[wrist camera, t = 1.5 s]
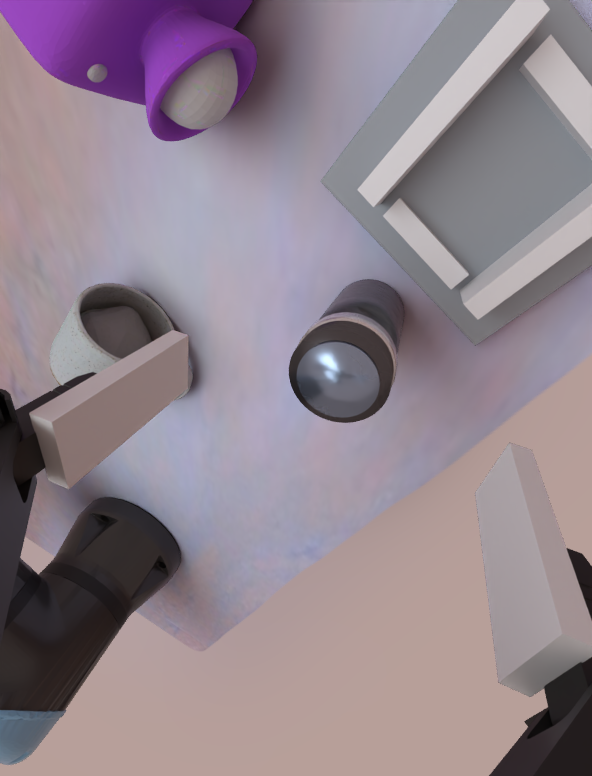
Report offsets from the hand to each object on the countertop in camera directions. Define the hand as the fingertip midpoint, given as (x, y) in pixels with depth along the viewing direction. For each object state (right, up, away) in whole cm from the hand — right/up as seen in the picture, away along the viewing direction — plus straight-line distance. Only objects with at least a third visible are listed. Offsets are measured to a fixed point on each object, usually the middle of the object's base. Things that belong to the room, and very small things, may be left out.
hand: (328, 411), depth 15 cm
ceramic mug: (-14, +5, +19) cm, 24 cm away
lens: (+4, +6, +11) cm, 13 cm away
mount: (+9, +12, +5) cm, 16 cm away
